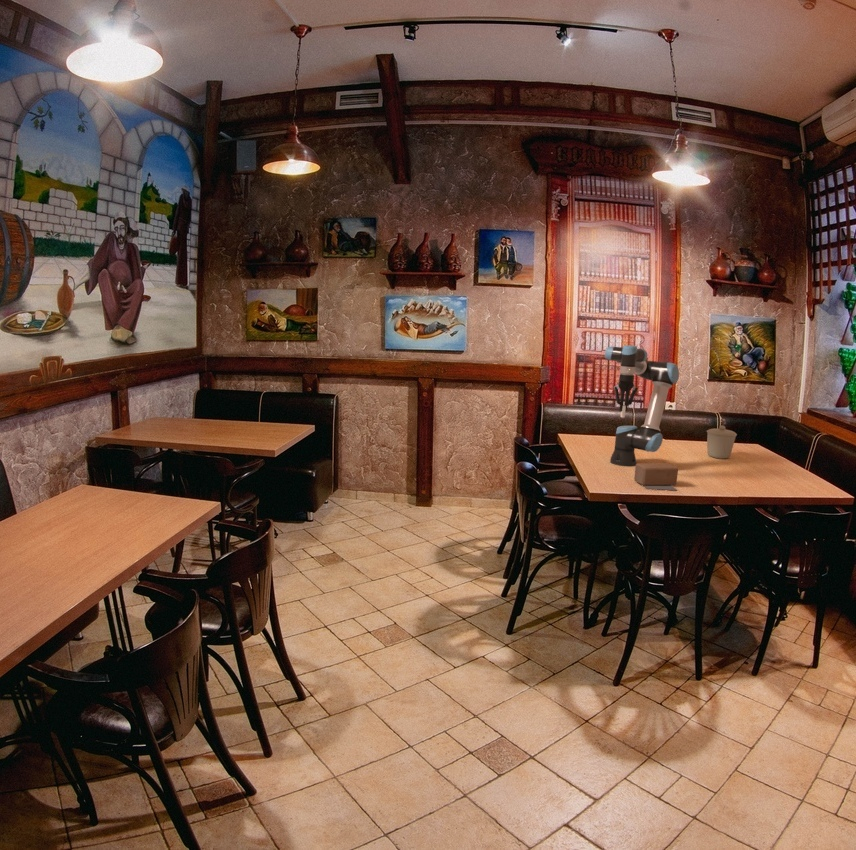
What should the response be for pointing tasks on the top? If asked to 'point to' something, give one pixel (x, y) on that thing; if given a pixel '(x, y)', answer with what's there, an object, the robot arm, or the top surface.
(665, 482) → the wooden block
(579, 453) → the top surface
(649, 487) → the mat
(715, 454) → the canister
